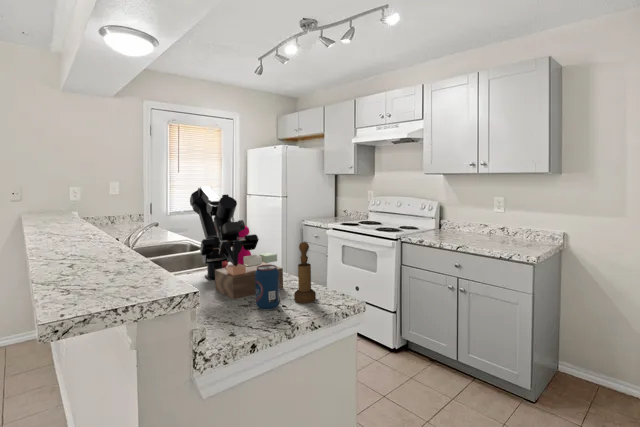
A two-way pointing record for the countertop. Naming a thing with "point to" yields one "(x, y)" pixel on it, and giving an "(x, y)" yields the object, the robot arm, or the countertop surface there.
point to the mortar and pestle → (304, 278)
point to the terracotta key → (236, 269)
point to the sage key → (268, 257)
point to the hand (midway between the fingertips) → (236, 265)
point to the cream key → (252, 260)
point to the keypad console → (240, 282)
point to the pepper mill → (243, 251)
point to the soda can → (267, 287)
